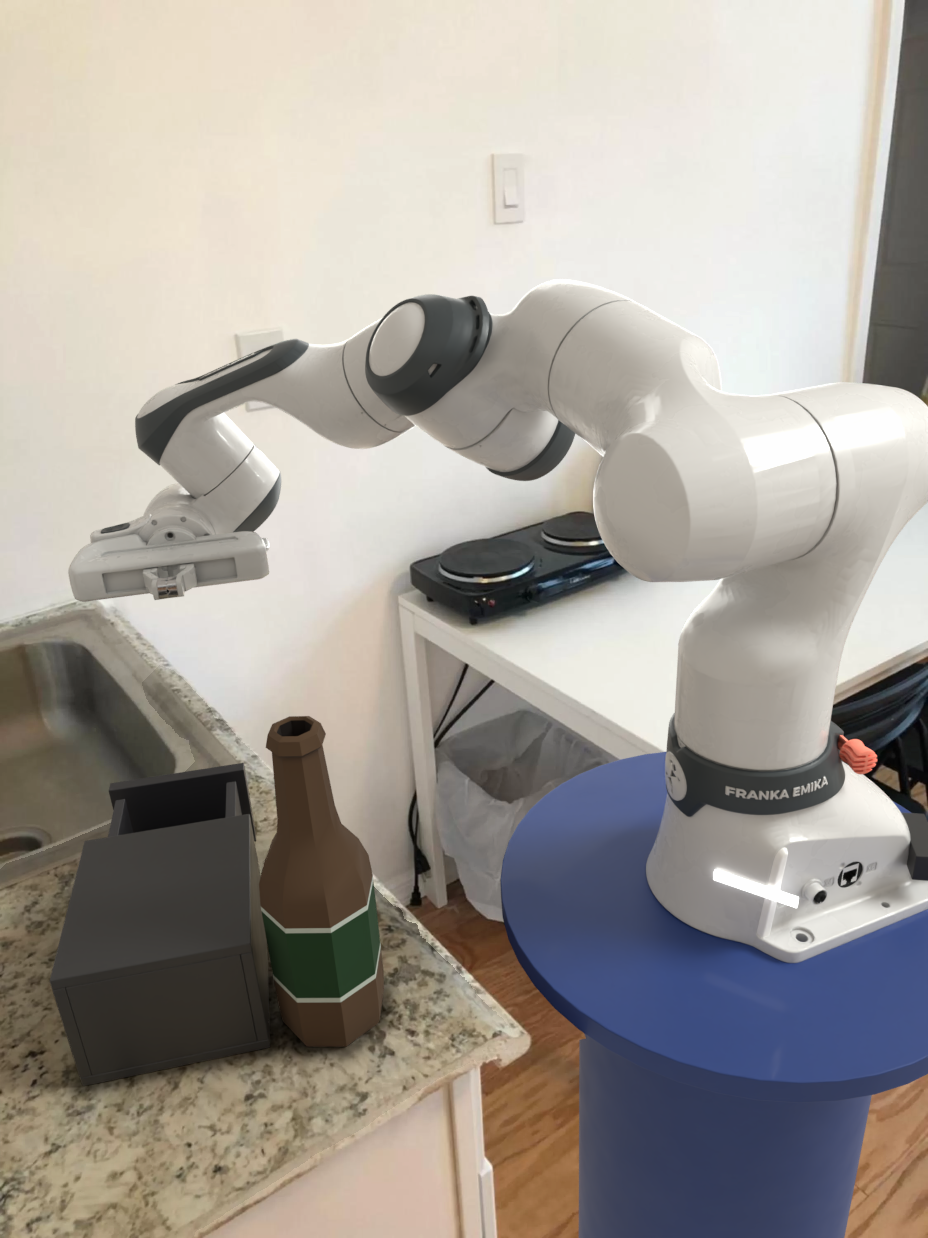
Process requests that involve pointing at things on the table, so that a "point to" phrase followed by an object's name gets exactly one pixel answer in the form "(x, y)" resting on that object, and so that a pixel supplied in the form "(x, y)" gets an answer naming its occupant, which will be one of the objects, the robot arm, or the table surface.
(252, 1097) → the table surface
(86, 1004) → the cabinet
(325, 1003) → the beer bottle
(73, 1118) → the table surface
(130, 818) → the drawer
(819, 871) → the robot arm
